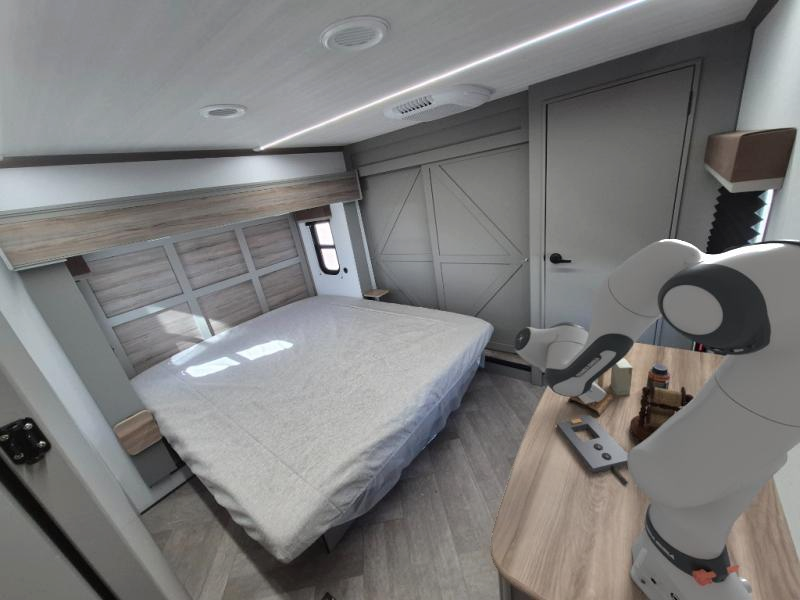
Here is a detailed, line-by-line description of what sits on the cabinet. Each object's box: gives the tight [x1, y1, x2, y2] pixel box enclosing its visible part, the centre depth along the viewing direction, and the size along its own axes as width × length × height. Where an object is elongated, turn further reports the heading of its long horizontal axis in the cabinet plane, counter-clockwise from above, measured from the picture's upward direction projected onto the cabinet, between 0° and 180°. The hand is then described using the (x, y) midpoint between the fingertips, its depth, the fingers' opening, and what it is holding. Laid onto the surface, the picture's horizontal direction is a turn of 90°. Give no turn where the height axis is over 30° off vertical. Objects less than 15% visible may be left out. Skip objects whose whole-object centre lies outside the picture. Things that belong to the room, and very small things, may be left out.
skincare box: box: [609, 357, 634, 396], centre depth 114 cm, size 6×4×12 cm
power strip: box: [556, 414, 629, 485], centre depth 95 cm, size 23×12×3 cm, turn 6°
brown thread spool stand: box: [629, 382, 695, 444], centre depth 92 cm, size 15×15×20 cm
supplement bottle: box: [645, 363, 671, 395], centre depth 110 cm, size 6×6×11 cm
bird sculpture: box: [567, 373, 613, 417], centre depth 108 cm, size 11×12×32 cm
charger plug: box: [578, 378, 598, 404], centre depth 92 cm, size 4×4×12 cm
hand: (589, 384), depth 93 cm, fingers closed on charger plug, 3 cm apart
